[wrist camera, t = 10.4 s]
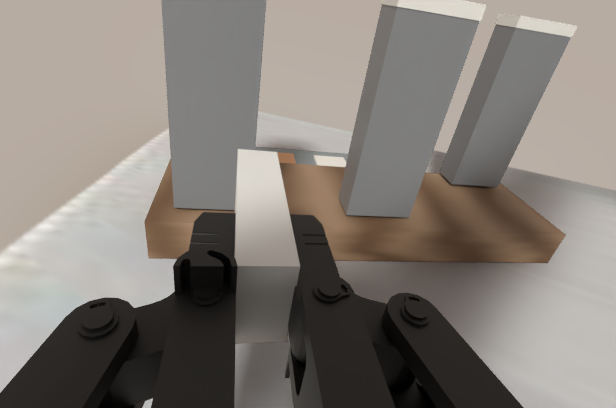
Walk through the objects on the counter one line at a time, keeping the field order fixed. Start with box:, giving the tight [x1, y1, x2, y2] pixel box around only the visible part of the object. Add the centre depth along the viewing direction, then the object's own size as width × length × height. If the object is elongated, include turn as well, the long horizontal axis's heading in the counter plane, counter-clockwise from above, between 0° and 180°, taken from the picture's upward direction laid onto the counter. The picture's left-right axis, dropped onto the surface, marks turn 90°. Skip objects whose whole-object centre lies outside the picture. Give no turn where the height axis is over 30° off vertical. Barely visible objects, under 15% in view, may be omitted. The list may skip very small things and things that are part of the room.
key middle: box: [339, 0, 486, 218], centre depth 23 cm, size 3×5×14 cm, turn 99°
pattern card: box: [255, 147, 348, 167], centre depth 39 cm, size 18×7×1 cm, turn 99°
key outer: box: [162, 0, 266, 210], centre depth 21 cm, size 3×5×14 cm, turn 98°
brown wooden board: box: [145, 159, 565, 263], centre depth 30 cm, size 32×10×3 cm, turn 99°
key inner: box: [440, 13, 577, 187], centre depth 31 cm, size 3×5×14 cm, turn 98°
